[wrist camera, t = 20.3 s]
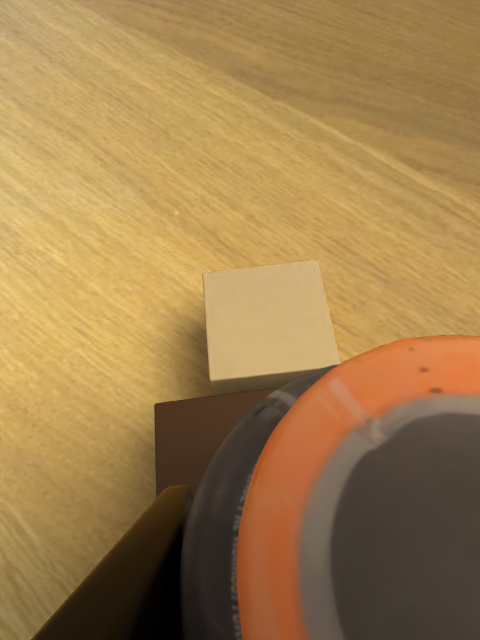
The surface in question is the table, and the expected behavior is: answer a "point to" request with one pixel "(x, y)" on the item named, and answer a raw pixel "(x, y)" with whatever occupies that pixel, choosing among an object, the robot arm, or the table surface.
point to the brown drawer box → (195, 434)
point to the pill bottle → (345, 505)
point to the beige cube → (266, 326)
